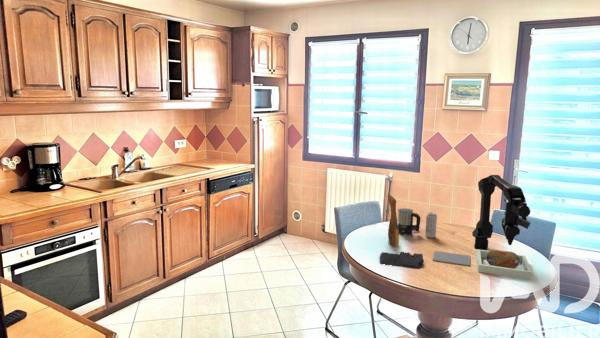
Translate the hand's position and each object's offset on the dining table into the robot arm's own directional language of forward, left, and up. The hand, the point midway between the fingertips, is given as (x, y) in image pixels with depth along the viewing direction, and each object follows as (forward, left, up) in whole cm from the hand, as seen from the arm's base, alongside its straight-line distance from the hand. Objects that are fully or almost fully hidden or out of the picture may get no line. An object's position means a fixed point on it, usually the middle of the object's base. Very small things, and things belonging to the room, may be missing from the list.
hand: (508, 242), depth 205 cm
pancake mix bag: (-59, +12, -13) cm, 62 cm away
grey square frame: (-2, -2, -13) cm, 13 cm away
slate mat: (-26, -1, -13) cm, 29 cm away
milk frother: (-53, +37, -13) cm, 66 cm away
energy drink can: (-39, +32, -13) cm, 52 cm away
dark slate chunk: (-50, -16, -13) cm, 54 cm away
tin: (-2, -2, -13) cm, 13 cm away
